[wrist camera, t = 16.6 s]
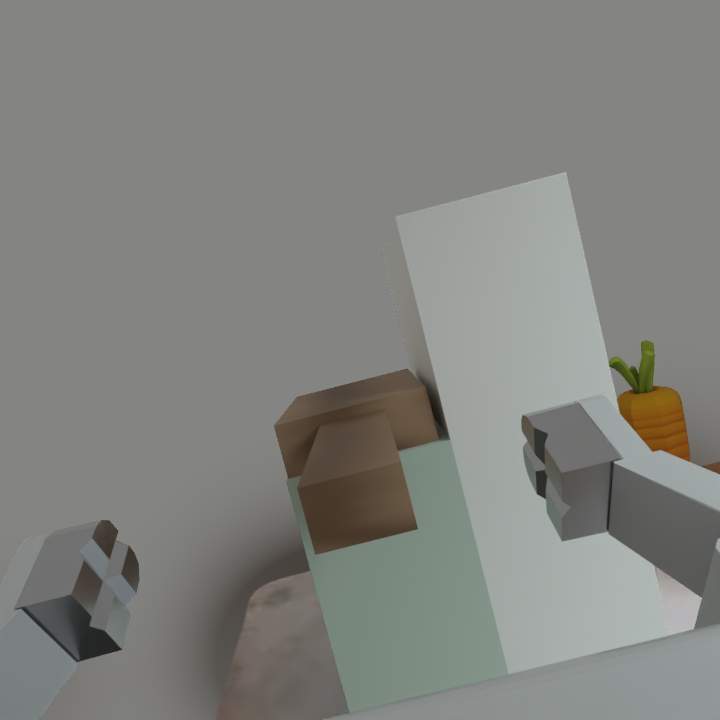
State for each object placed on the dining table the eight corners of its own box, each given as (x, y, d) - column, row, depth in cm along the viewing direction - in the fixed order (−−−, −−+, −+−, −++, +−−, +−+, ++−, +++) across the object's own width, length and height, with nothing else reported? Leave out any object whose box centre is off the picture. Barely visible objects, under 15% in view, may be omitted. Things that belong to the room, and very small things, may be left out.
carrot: (653, 547, 40) (610, 355, 39) (630, 520, 45) (591, 349, 44) (723, 535, 40) (682, 339, 39) (692, 509, 45) (654, 334, 43)
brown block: (417, 407, 33) (407, 368, 33) (487, 512, 15) (466, 426, 15) (307, 435, 33) (297, 396, 33) (247, 572, 15) (223, 488, 15)
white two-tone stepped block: (576, 590, 38) (490, 225, 36) (690, 731, 25) (565, 172, 23) (369, 641, 38) (273, 282, 36) (375, 808, 25) (226, 260, 23)
